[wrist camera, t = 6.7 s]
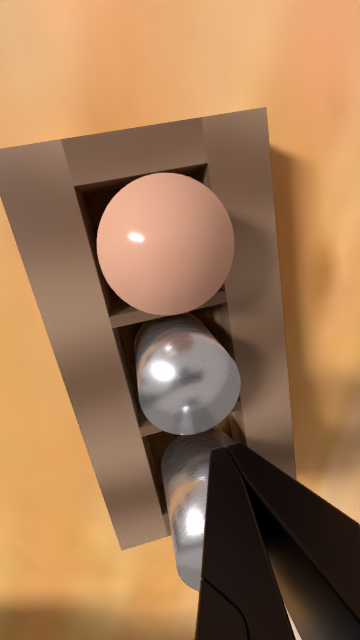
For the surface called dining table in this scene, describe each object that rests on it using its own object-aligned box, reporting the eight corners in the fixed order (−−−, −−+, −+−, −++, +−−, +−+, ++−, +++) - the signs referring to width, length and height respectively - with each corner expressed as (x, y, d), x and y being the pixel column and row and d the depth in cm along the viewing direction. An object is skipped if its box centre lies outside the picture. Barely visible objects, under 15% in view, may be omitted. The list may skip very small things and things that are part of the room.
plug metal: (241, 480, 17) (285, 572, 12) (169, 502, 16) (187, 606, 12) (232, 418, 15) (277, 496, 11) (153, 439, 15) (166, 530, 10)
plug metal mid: (214, 370, 17) (246, 419, 13) (143, 388, 17) (151, 446, 12) (202, 301, 16) (233, 330, 11) (126, 319, 15) (127, 356, 11)
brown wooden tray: (273, 457, 20) (297, 495, 17) (121, 502, 19) (121, 550, 16) (237, 131, 14) (266, 106, 11) (14, 167, 13) (-16, 151, 10)
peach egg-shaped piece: (204, 277, 14) (241, 299, 10) (118, 296, 14) (116, 328, 9) (189, 184, 13) (224, 161, 8) (94, 201, 12) (79, 186, 8)
